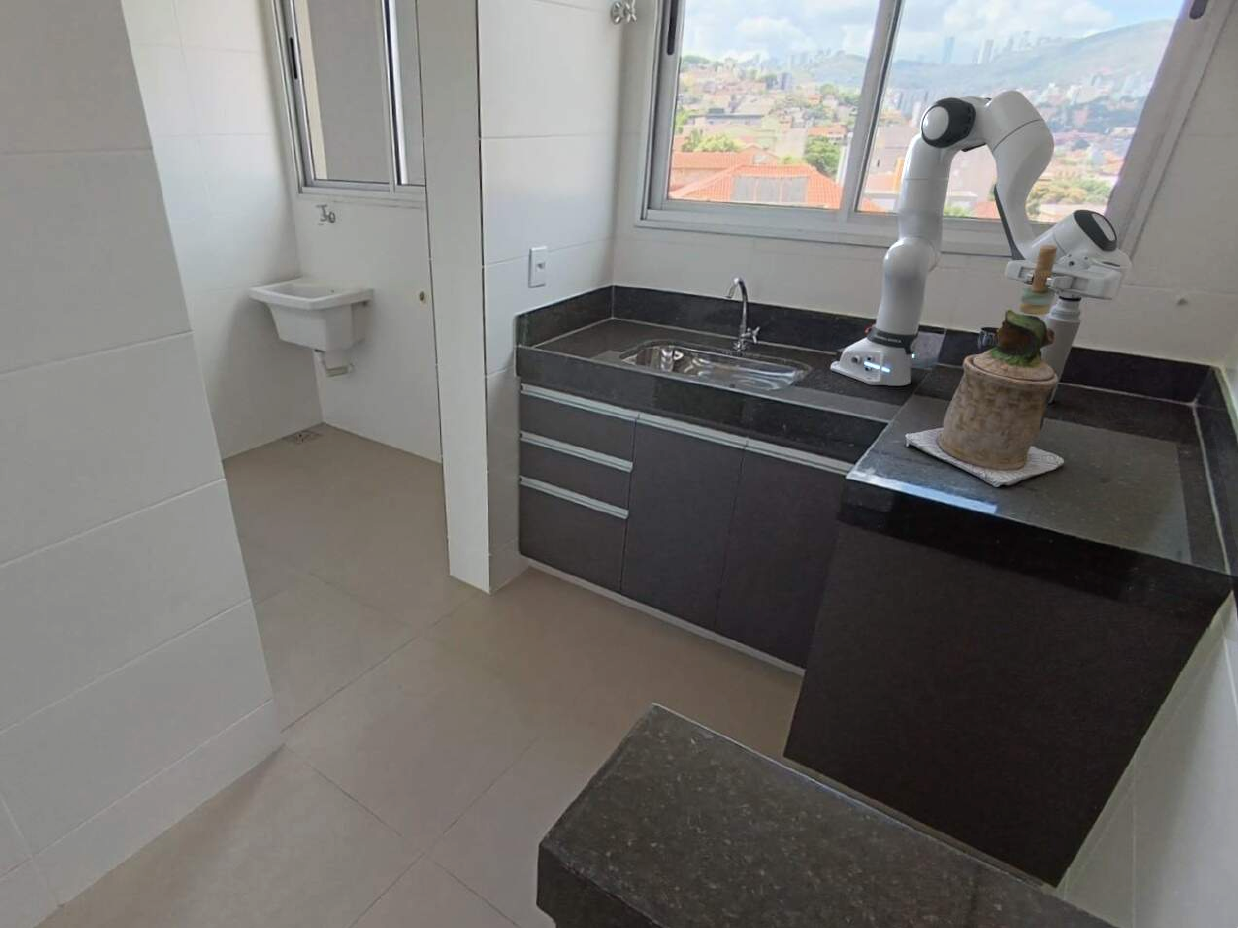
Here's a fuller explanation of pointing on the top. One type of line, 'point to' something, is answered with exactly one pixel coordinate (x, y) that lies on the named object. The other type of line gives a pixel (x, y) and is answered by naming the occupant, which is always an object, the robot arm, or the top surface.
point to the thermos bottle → (1061, 334)
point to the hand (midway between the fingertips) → (1039, 280)
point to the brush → (1040, 284)
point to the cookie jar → (999, 408)
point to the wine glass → (987, 339)
